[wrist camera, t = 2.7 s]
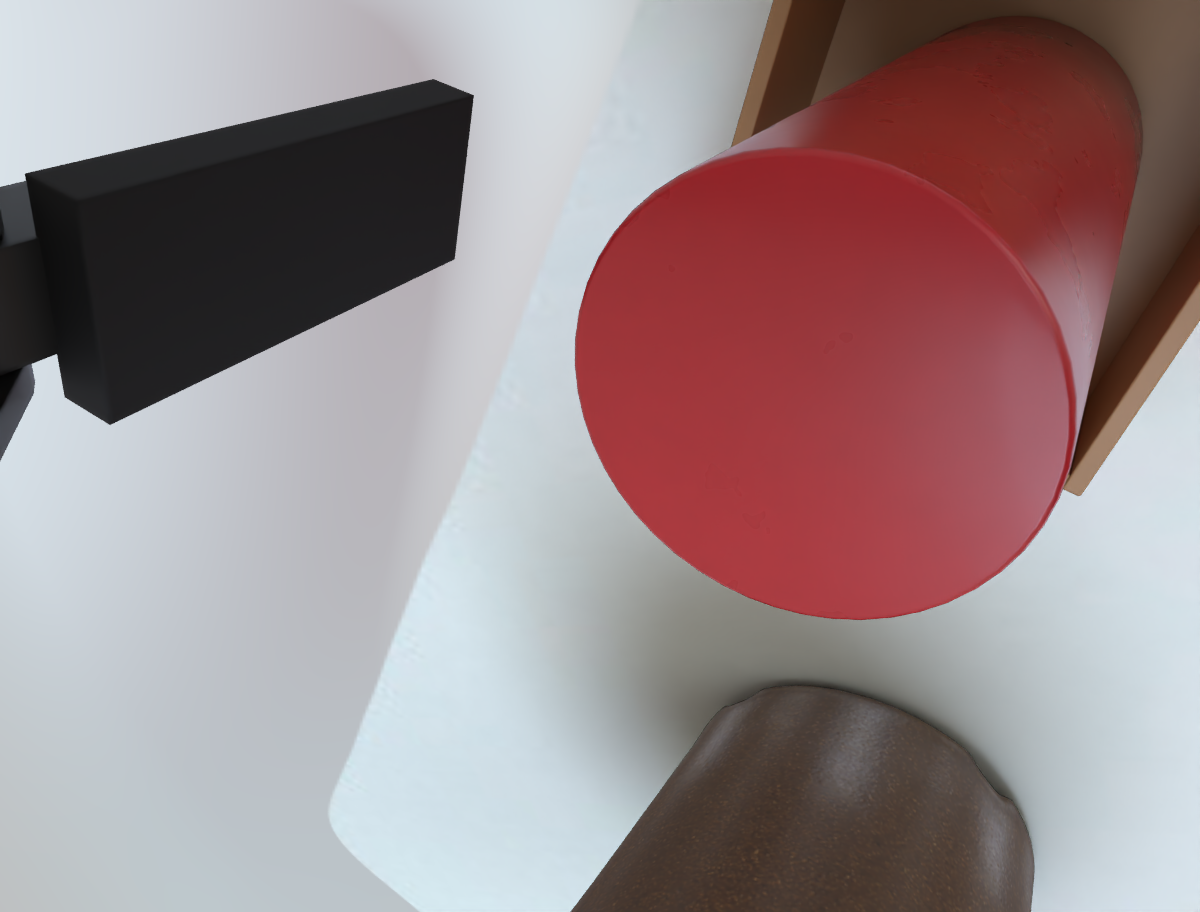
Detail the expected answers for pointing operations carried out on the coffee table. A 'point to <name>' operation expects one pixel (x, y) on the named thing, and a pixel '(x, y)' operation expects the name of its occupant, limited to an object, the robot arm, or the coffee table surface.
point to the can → (870, 325)
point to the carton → (1164, 184)
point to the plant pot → (821, 819)
